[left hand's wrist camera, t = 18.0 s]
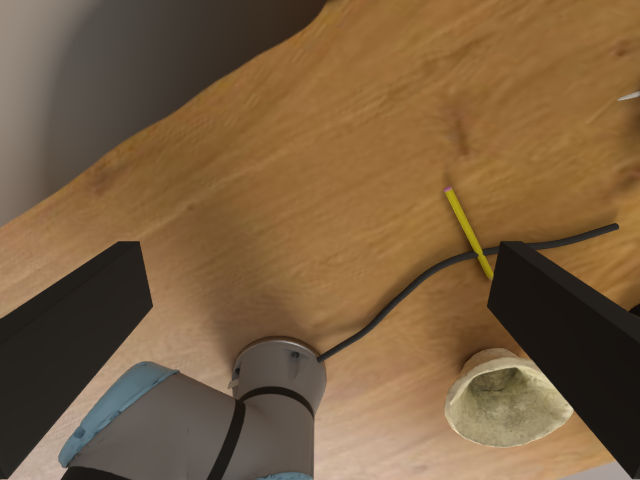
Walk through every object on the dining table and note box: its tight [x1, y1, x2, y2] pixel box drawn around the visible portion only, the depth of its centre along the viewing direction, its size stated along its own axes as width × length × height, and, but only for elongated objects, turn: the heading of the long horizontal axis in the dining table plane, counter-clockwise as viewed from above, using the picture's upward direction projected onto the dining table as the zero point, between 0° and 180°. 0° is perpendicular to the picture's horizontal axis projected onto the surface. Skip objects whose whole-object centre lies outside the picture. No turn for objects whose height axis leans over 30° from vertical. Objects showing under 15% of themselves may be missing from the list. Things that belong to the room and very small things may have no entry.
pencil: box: [444, 186, 494, 281], centre depth 47 cm, size 16×1×1 cm, turn 32°
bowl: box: [444, 348, 574, 447], centre depth 50 cm, size 14×18×15 cm
